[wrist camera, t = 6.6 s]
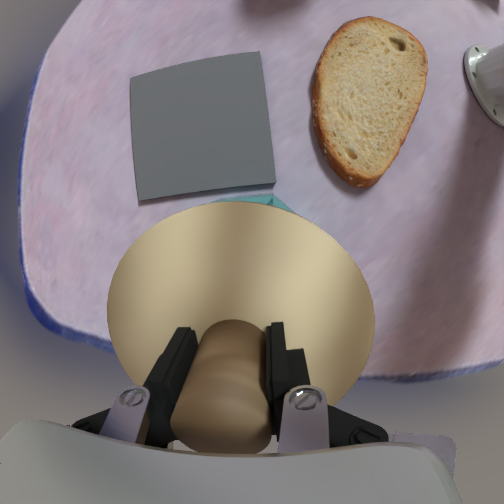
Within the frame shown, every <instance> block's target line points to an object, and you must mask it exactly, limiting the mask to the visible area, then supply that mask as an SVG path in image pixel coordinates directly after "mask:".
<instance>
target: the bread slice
mask: <svg viewBox="0 0 504 504" xmlns="http://www.w3.org/2000/svg"><path fill="white" fill-rule="evenodd" d="M427 63H428V60H427V55H426V52H425V50H424V48H423V46H422V45H421V43H420V42H419V41H418V40H417V39H416V38H415V37H414V36H413V35H412V34H411V33H410V32H408V31H407V30H405V29H403V28H401V27H400V26H397V25H395V24H393V23H390V22H388V21H385V20H383V19H380V18H376V17H371V16H367V17H362V18H357V19H354V20H351V21H348V22H346V23H344V24H343V25H342V26H341V27H340V28H339V29H338V30H337V31H336V32H334V33H333V34H332V36H331V38H330V39H329V41H328V42H327V44H326V46H325V48H324V50H323V52H322V53H321V56H320V59H319V61H318V62H317V66H316V71H315V75H316V81H315V84H314V86H313V89H312V114H313V125H314V130H315V134H316V137H317V140H318V143H319V145H320V148H321V150H322V153H323V155H324V157H325V159H326V160H327V162H328V163H329V165H330V167H331V168H332V169H333V170H334V171H335V173H336V174H337V175H338V176H339V177H340V178H341V179H342V180H344V181H345V182H346V183H348V185H350V186H352V187H356V188H368V187H371V186H372V185H373V184H375V183H376V182H377V181H378V180H379V179H380V177H381V176H382V175H383V174H384V172H385V171H386V170H387V169H388V168H389V167H390V165H391V164H392V162H393V160H394V159H395V158H396V157H397V155H398V153H399V150H400V147H401V146H402V144H403V143H404V141H405V138H406V136H407V133H408V132H409V130H410V127H411V125H412V123H413V121H414V118H415V116H416V114H417V112H418V108H419V105H420V103H421V100H422V97H423V93H424V91H425V86H426V75H427V72H428V69H427Z"/></svg>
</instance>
